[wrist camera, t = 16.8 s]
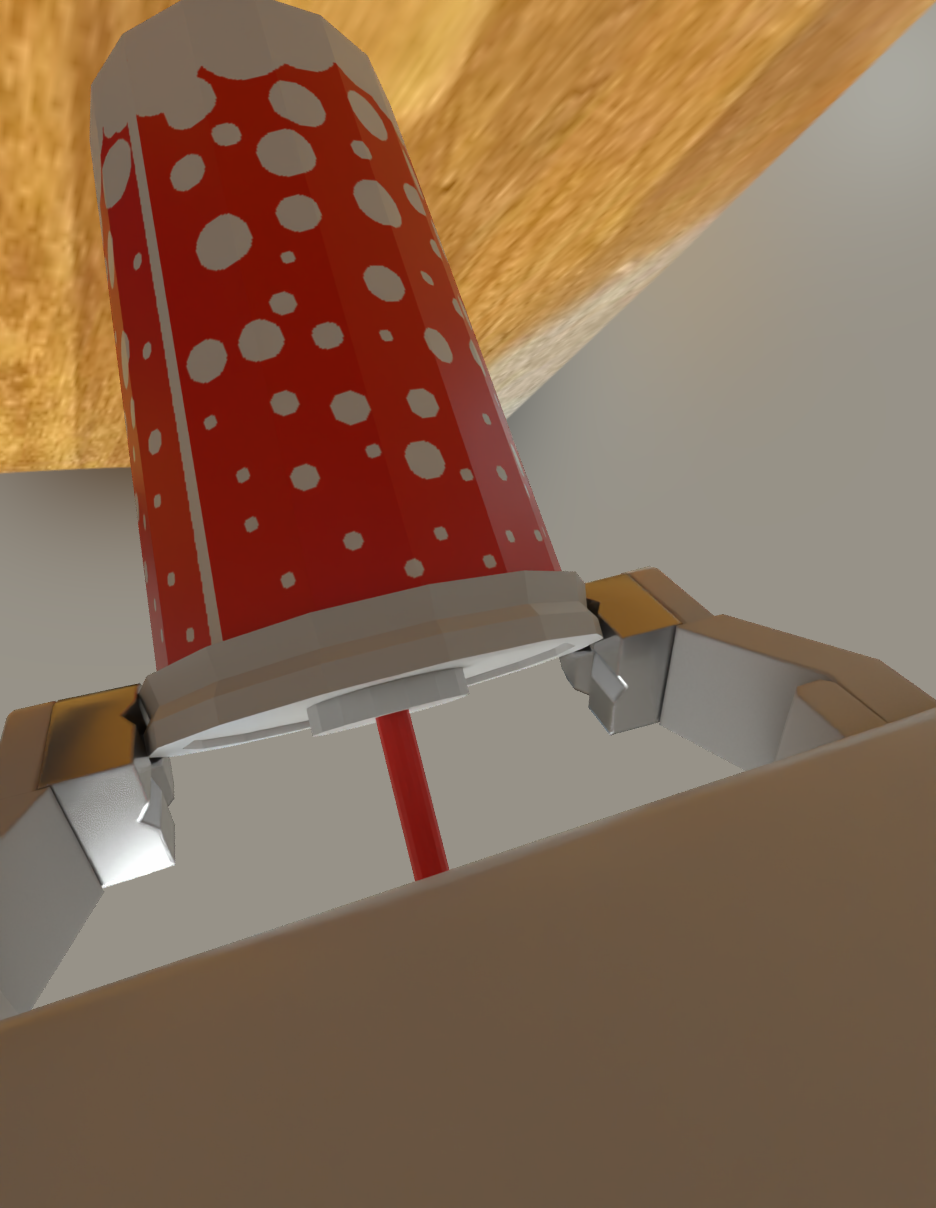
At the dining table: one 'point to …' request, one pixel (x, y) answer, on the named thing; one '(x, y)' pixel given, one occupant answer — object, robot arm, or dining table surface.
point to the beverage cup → (305, 404)
